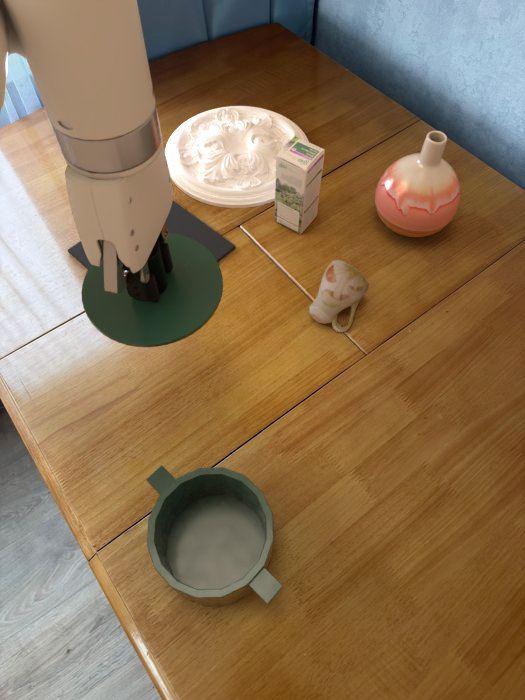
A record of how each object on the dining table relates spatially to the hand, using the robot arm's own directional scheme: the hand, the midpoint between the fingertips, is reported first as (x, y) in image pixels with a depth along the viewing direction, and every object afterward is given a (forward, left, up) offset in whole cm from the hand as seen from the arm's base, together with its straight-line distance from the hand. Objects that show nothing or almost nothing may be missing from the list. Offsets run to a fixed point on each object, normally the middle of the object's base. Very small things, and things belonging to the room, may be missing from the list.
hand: (151, 281), depth 55 cm
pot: (-12, -19, -25) cm, 34 cm away
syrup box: (+36, +10, -25) cm, 45 cm away
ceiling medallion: (+41, +29, -25) cm, 57 cm away
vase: (+49, -5, -25) cm, 56 cm away
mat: (+14, +23, -25) cm, 37 cm away
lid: (0, 0, -1) cm, 1 cm away
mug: (+26, -7, -25) cm, 37 cm away
